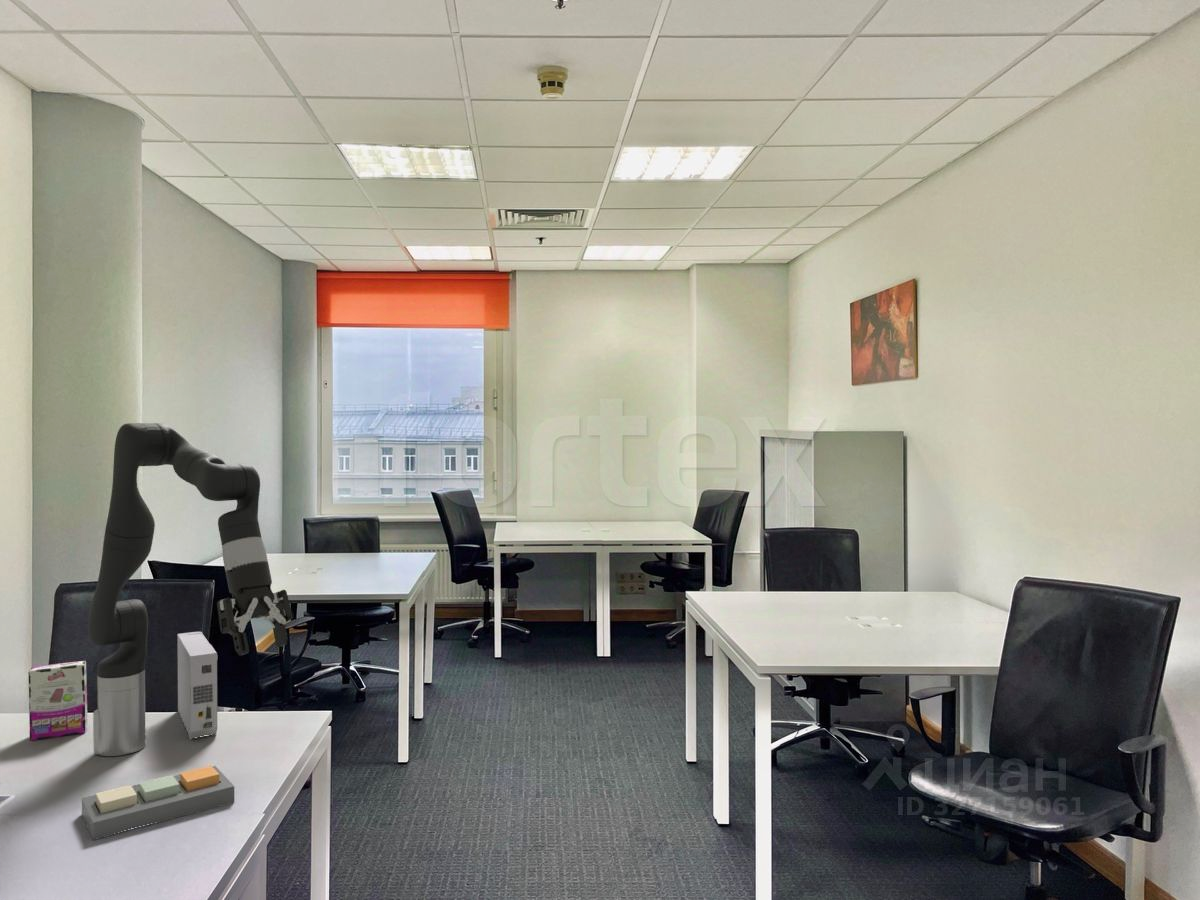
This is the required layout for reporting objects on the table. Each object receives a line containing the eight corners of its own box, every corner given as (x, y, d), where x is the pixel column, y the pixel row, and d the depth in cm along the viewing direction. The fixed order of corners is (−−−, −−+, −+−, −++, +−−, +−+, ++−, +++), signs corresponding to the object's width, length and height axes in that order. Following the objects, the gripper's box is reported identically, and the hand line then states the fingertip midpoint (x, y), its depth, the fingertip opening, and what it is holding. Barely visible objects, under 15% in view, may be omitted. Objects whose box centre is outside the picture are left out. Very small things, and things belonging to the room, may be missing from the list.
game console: (202, 707, 211) (202, 631, 211) (218, 737, 188) (218, 652, 188) (178, 711, 208) (177, 633, 208) (191, 743, 185) (190, 656, 185)
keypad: (93, 840, 139) (93, 822, 139) (81, 814, 149) (81, 798, 149) (234, 801, 154) (234, 786, 154) (215, 780, 164) (215, 765, 164)
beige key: (101, 814, 143) (101, 803, 143) (95, 804, 147) (95, 793, 147) (136, 805, 147) (136, 794, 147) (130, 795, 151) (130, 784, 151)
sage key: (145, 803, 147) (145, 792, 147) (139, 793, 152) (139, 782, 152) (179, 794, 151) (179, 784, 151) (172, 785, 155) (172, 774, 155)
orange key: (187, 792, 152) (187, 782, 152) (180, 783, 156) (180, 772, 156) (219, 784, 156) (219, 774, 156) (211, 775, 160) (211, 765, 160)
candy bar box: (87, 727, 196) (87, 659, 196) (85, 733, 192) (85, 664, 192) (32, 734, 191) (31, 665, 191) (28, 741, 187) (28, 670, 187)
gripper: (264, 566, 161) (280, 647, 158) (200, 573, 148) (216, 661, 145) (290, 556, 157) (307, 639, 154) (227, 563, 145) (244, 652, 142)
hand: (263, 649), depth 150 cm, fingers open, 8 cm apart
